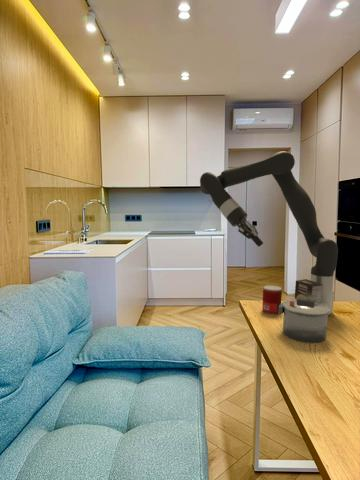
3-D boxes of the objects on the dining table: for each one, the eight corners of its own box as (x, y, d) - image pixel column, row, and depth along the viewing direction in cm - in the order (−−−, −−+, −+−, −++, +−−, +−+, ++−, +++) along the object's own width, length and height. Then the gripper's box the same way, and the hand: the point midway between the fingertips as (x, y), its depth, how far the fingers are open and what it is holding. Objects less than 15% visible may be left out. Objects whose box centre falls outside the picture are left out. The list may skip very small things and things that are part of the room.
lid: (277, 309, 118) (277, 301, 117) (289, 298, 131) (289, 291, 131) (325, 318, 109) (325, 310, 109) (332, 306, 122) (333, 298, 122)
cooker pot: (273, 335, 120) (274, 309, 119) (284, 323, 132) (285, 299, 131) (322, 346, 111) (324, 318, 110) (329, 332, 123) (330, 306, 122)
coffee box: (292, 316, 140) (294, 280, 138) (303, 314, 143) (305, 278, 141) (309, 324, 132) (311, 285, 130) (320, 321, 135) (323, 283, 133)
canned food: (281, 315, 142) (282, 290, 141) (262, 313, 143) (263, 289, 142) (279, 309, 149) (281, 286, 148) (261, 308, 151) (262, 284, 150)
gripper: (232, 205, 125) (262, 240, 120) (245, 205, 136) (273, 237, 131) (219, 219, 128) (248, 253, 123) (233, 218, 139) (259, 249, 134)
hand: (261, 245), depth 127 cm, fingers closed
